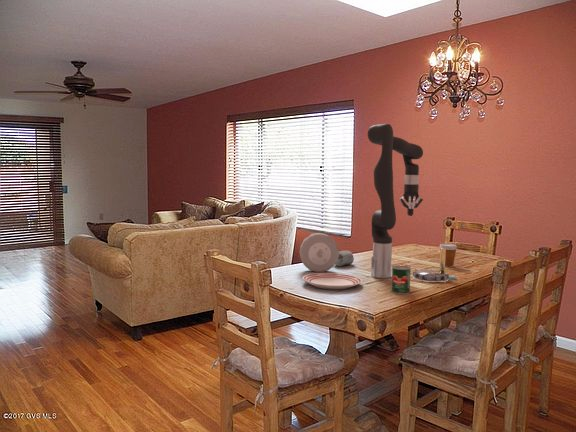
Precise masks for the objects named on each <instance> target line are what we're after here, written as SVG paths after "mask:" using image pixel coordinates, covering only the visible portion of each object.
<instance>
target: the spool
mask: <svg viewBox="0 0 576 432" xmlns="http://www.w3.org/2000/svg"><path fill="white" fill-rule="evenodd" d="M354 260H355V257H354V254H353V252H352V251H350V250H340V251H339V256H338V260H337V262H336V264H335V265H334V266H336V267H338V268H339V267H343V266H348V265H351V264H353V263H354Z"/></svg>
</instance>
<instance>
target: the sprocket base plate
mask: <svg viewBox="0 0 576 432" xmlns="http://www.w3.org/2000/svg"><path fill="white" fill-rule="evenodd" d="M412 279H413V280H415V281H417V280H418V282H422V281H423V282H422V283H428V282H444V283H447V282H446V281H448V280H450V279H447V280H445V281H444V280H440V281H435V280H431V281H427V280H425V279H423V280H421V279H419V278H415V277H414V276H413V275H412ZM448 282H449V281H448Z"/></svg>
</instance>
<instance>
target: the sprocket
mask: <svg viewBox="0 0 576 432" xmlns="http://www.w3.org/2000/svg"><path fill="white" fill-rule="evenodd" d="M439 255H440V256H439V270H435V269H425V268H424V269H415V270H413V271H412V277H413V276H414V277H415V278H419V279H421V280H423V279H425V280H427V281H431V280H435V281H440V280H444V281H445V280H447V279H449V276H450V274H449V273H448V272H446V267H445V256H446V249H443V248H442V249H441V253H439ZM449 280H450V279H449Z"/></svg>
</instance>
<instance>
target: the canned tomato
mask: <svg viewBox="0 0 576 432" xmlns="http://www.w3.org/2000/svg"><path fill="white" fill-rule="evenodd" d="M411 269H412V268H411V267H410V266H407V265H391V293H394V294H398V295H408V294H410V292H411Z"/></svg>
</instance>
